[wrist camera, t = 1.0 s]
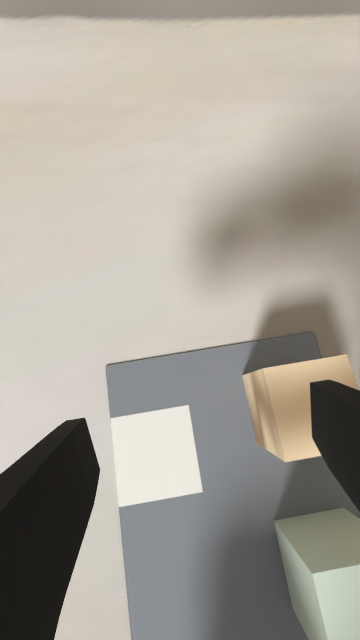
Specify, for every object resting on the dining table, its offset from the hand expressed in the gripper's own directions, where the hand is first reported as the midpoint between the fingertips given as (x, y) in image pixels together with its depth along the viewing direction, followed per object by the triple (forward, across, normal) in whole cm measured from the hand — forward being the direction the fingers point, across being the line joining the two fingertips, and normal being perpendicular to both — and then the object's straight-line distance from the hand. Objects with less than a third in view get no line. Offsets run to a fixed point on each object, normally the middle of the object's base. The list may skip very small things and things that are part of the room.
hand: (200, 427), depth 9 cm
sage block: (+6, -6, +16) cm, 18 cm away
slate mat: (+8, -2, +12) cm, 14 cm away
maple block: (+11, -6, +7) cm, 15 cm away
